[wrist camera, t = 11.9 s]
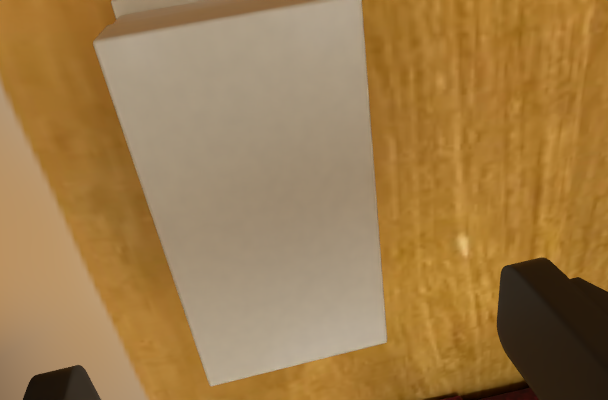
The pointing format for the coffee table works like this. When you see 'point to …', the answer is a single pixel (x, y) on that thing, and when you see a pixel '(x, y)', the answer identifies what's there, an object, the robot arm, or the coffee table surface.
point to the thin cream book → (257, 175)
